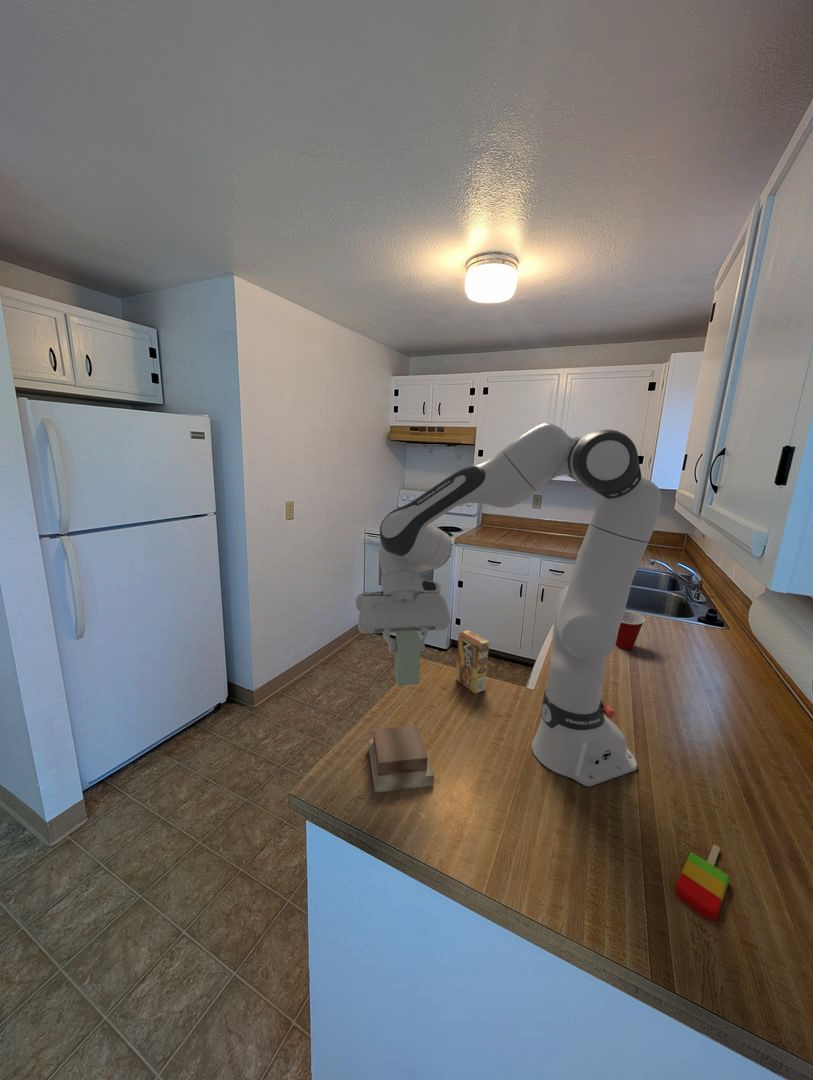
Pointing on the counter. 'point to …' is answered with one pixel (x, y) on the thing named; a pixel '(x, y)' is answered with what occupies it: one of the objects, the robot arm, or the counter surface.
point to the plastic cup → (629, 629)
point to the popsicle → (703, 884)
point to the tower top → (399, 750)
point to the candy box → (472, 661)
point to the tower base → (399, 776)
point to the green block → (407, 657)
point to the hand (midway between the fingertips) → (407, 650)
